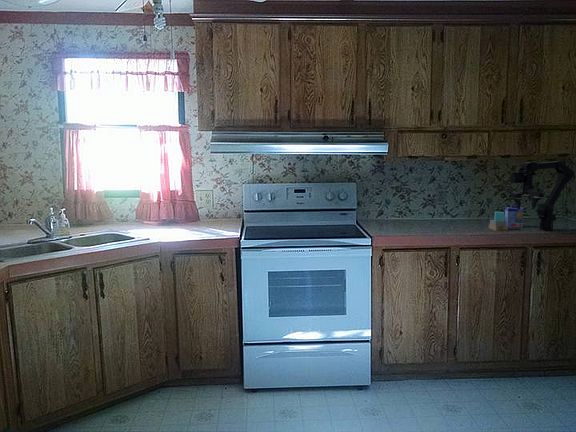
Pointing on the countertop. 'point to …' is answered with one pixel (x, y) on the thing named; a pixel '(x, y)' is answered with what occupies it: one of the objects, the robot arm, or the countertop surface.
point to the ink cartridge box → (514, 216)
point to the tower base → (498, 227)
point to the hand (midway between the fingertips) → (526, 209)
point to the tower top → (498, 223)
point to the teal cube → (499, 216)
